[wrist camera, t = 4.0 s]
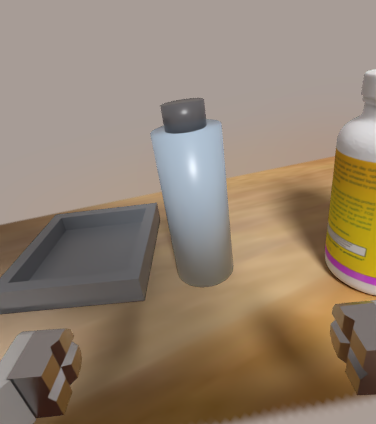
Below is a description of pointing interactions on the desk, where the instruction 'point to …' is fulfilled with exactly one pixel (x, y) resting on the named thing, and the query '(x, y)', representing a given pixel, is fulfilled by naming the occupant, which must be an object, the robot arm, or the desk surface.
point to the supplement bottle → (355, 198)
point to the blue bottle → (194, 191)
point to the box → (84, 261)
